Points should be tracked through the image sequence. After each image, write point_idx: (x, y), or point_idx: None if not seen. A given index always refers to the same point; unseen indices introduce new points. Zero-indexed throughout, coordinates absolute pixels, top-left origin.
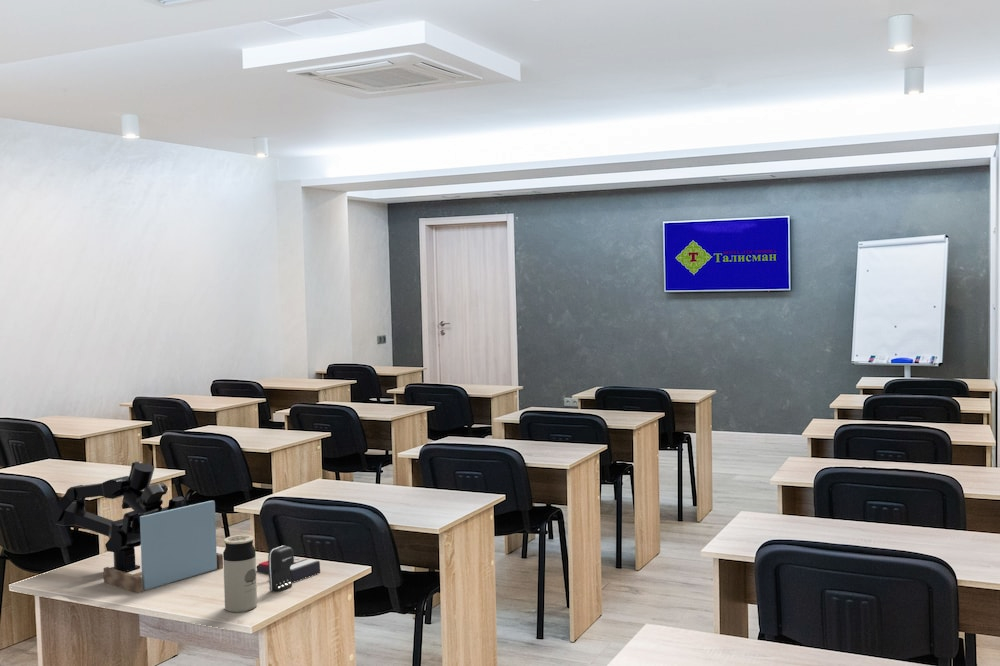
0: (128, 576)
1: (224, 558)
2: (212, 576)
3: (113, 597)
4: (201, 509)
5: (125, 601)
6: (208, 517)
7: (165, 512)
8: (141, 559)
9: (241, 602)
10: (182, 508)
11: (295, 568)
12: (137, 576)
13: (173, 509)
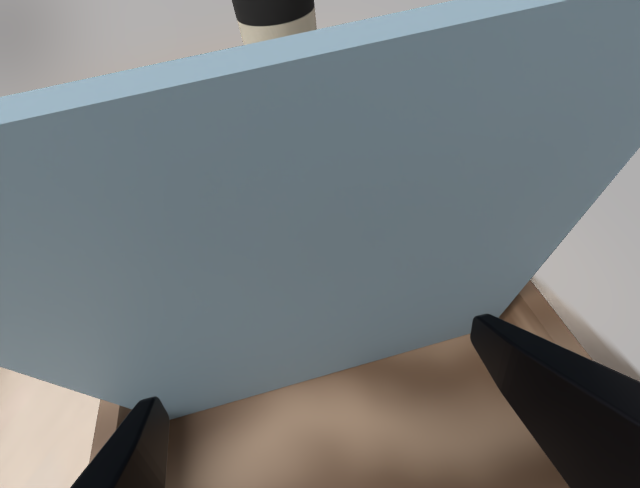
0: (576, 343)
1: (313, 1)
2: None
3: (601, 363)
4: None
5: (543, 290)
6: None
7: (456, 9)
8: (542, 262)
9: None
10: (214, 59)
11: None
12: (530, 301)
13: (336, 38)
